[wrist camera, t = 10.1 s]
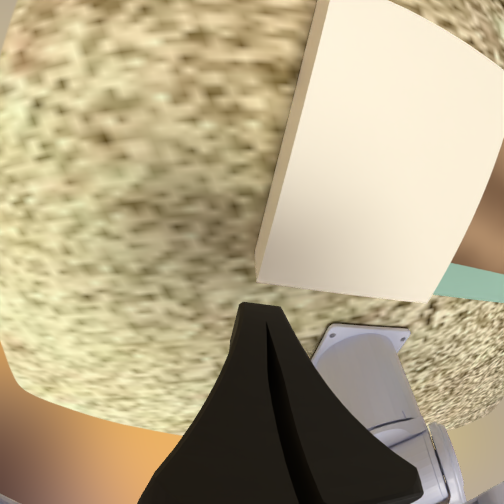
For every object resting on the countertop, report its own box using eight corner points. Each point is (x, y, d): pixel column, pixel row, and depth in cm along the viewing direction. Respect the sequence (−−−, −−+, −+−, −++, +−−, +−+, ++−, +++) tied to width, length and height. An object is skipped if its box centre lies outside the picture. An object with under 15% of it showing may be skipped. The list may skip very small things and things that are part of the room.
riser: (410, 277, 22) (426, 303, 19) (254, 252, 20) (256, 282, 18) (488, 75, 14) (518, 82, 11) (319, -7, 12) (334, -21, 9)
